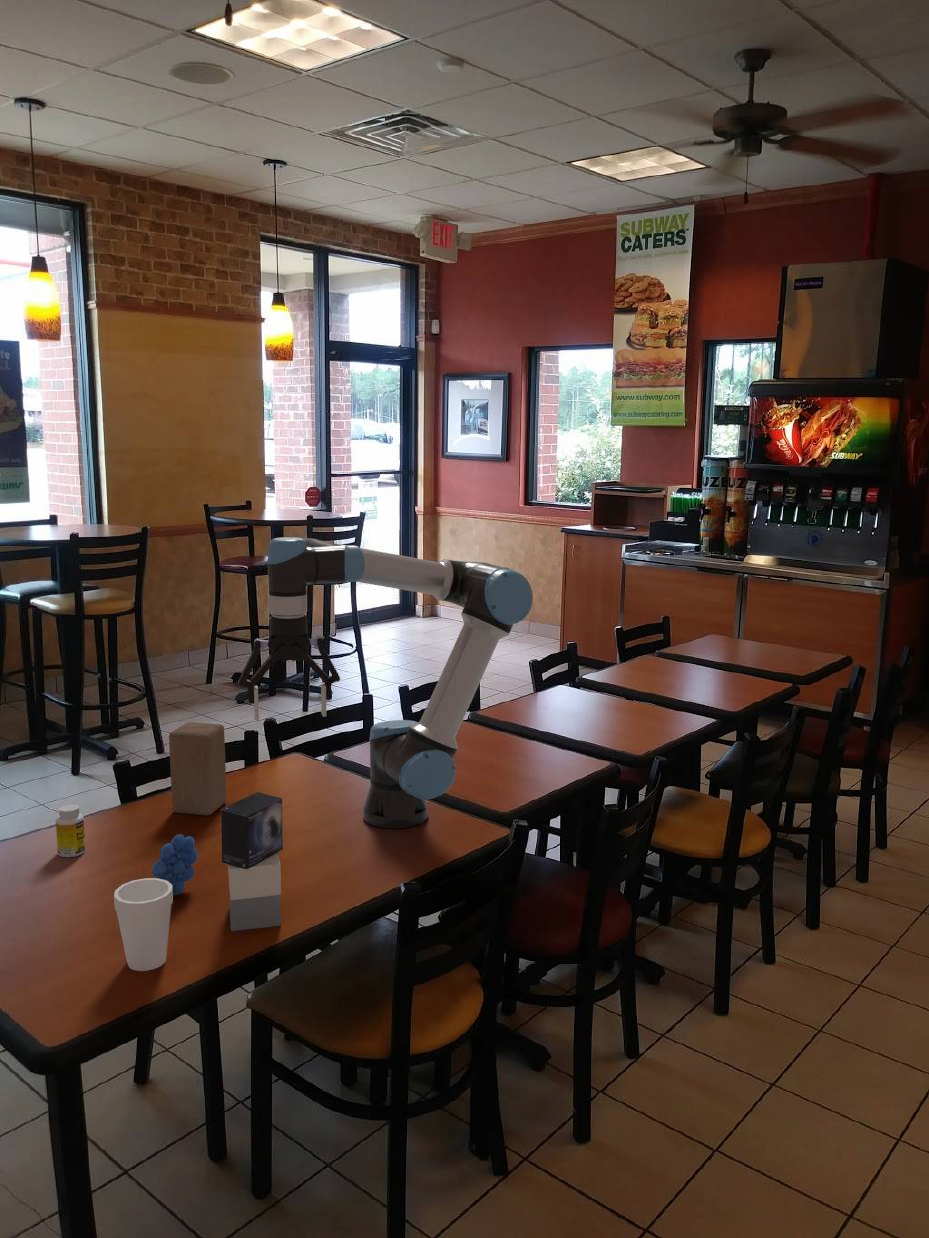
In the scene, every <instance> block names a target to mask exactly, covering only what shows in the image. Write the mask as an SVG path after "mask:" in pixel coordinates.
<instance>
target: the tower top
mask: <svg viewBox="0 0 929 1238" xmlns="http://www.w3.org/2000/svg"><path fill="white" fill-rule="evenodd" d="M227 868H228V870H227V872H228V873H227V875H228V889H229V888H230V898H231V900H238V899H247V898H256V897H265V896H274V895H280V896H281V895H282V885H281V884H282V879H281V878H282V877H281V876H282V875H281V874H282V871H281V861H280V857H279V852H277V853H276V854H274V855H272V856H270V857H268V858H267V859H265V860H263V861H261V862H259V863H258V864H256V865H254V866H252V867H251V868H249V869H243V868H239V867H236V866H233V865H229V864H227Z"/></svg>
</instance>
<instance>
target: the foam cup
mask: <svg viewBox="0 0 929 1238" xmlns="http://www.w3.org/2000/svg"><path fill="white" fill-rule="evenodd" d="M173 898H174V895H173V890H172V884H171V883H169V882H168V881H167V880H162V879H158V878H156V877H154V878H153V877H152V878H151V877H149V878H147V877H146V878H139V879H135V880H130V881H127V882H126V883H123V884H121V885H120V886H119V887H118V888H116V889H115V890H114V895H113V900H114V901H113V902H114V903H113V905H114V910H115V912H116V915H117V920H118V925H119V926H118V927H119V930H120V935H121V939H122V944H123V949H124V954H125V959H126V963H127V967H129V968H130V970H132V971H137V972H147V971H150V970H157V968H159V967H162V966H163V965H164V964H165V963H166V962H167V955H168V954H167V953H168V943H169V933H170V923H171V921H170V920H171V911H172V904H173V903H174V902H173Z"/></svg>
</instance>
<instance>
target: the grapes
mask: <svg viewBox="0 0 929 1238" xmlns="http://www.w3.org/2000/svg"><path fill="white" fill-rule="evenodd" d="M195 844H196V841H195V839H194V837H193V836H192V835H191V836H190V835H187V836H186V837H185V835H183V834H182V833H179V834H176V835H175V836H174V837H173V838H172V839H171V842H169V843H165V844H164V845H163V846H162V847H161V848H160V850H159V858H160V859H159V860H157V861H155V862H154V863H153V865H152V867H151V874H152V875H153V877H154V878H158V879H162V880H167V881H168V882H169V883H171V884H172V890H173V896H178V895H180V894H182V892H183V891H184V889H185V882H189V881H190V880H192V878H193V877H194V875H195V869H194V867H193V864H194V863H196V862H197V860H198V858H199V852H198V850H197V849H196V848H195Z"/></svg>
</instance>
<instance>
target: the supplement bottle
mask: <svg viewBox="0 0 929 1238" xmlns="http://www.w3.org/2000/svg"><path fill="white" fill-rule="evenodd" d="M55 830H56V845H57V846H56V847H57V854H58V856H60V857H62V858H74V857H78V856H81V855H82V854H84V852H85V851H86V837H85V835H86V833H85V819H84V815H83V814H82V813H80V806H79V805H77V804H65V805H63V806H61V807H59V809H58V816H57V817H56V818H55Z"/></svg>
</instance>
